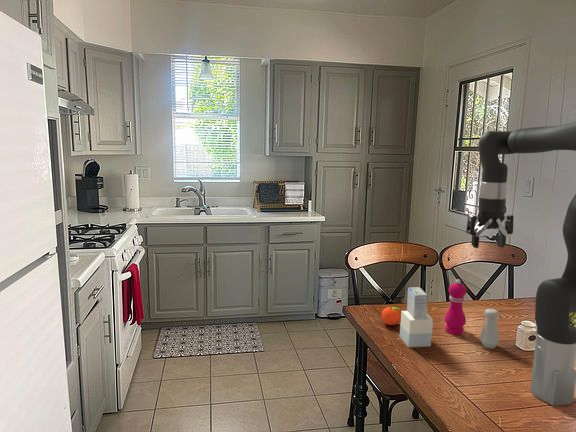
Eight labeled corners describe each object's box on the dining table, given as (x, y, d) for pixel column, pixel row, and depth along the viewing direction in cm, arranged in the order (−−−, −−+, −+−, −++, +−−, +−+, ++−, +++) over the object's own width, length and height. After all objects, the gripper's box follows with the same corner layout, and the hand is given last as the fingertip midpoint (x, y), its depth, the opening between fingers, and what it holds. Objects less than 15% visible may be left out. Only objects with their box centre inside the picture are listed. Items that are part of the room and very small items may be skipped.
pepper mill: (440, 331, 150) (444, 279, 146) (448, 325, 155) (452, 275, 151) (460, 337, 145) (464, 284, 141) (467, 330, 150) (472, 279, 147)
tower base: (430, 346, 138) (431, 332, 138) (408, 347, 138) (409, 333, 137) (420, 335, 146) (421, 322, 145) (399, 336, 145) (400, 323, 145)
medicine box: (426, 319, 137) (428, 295, 135) (413, 319, 136) (415, 295, 135) (418, 310, 144) (420, 287, 143) (406, 310, 144) (407, 287, 143)
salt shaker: (500, 350, 135) (503, 314, 133) (482, 349, 136) (485, 312, 134) (495, 342, 141) (498, 307, 139) (477, 341, 142) (480, 306, 140)
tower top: (432, 333, 137) (433, 319, 137) (409, 334, 137) (410, 320, 136) (422, 323, 145) (423, 310, 144) (400, 324, 144) (401, 310, 144)
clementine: (399, 320, 159) (400, 303, 158) (404, 328, 152) (405, 310, 151) (379, 320, 159) (379, 303, 157) (383, 328, 152) (384, 310, 151)
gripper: (477, 198, 121) (473, 250, 124) (522, 197, 123) (516, 249, 125) (464, 195, 128) (460, 245, 131) (506, 195, 130) (501, 244, 133)
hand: (488, 247), depth 128 cm, fingers open, 8 cm apart
